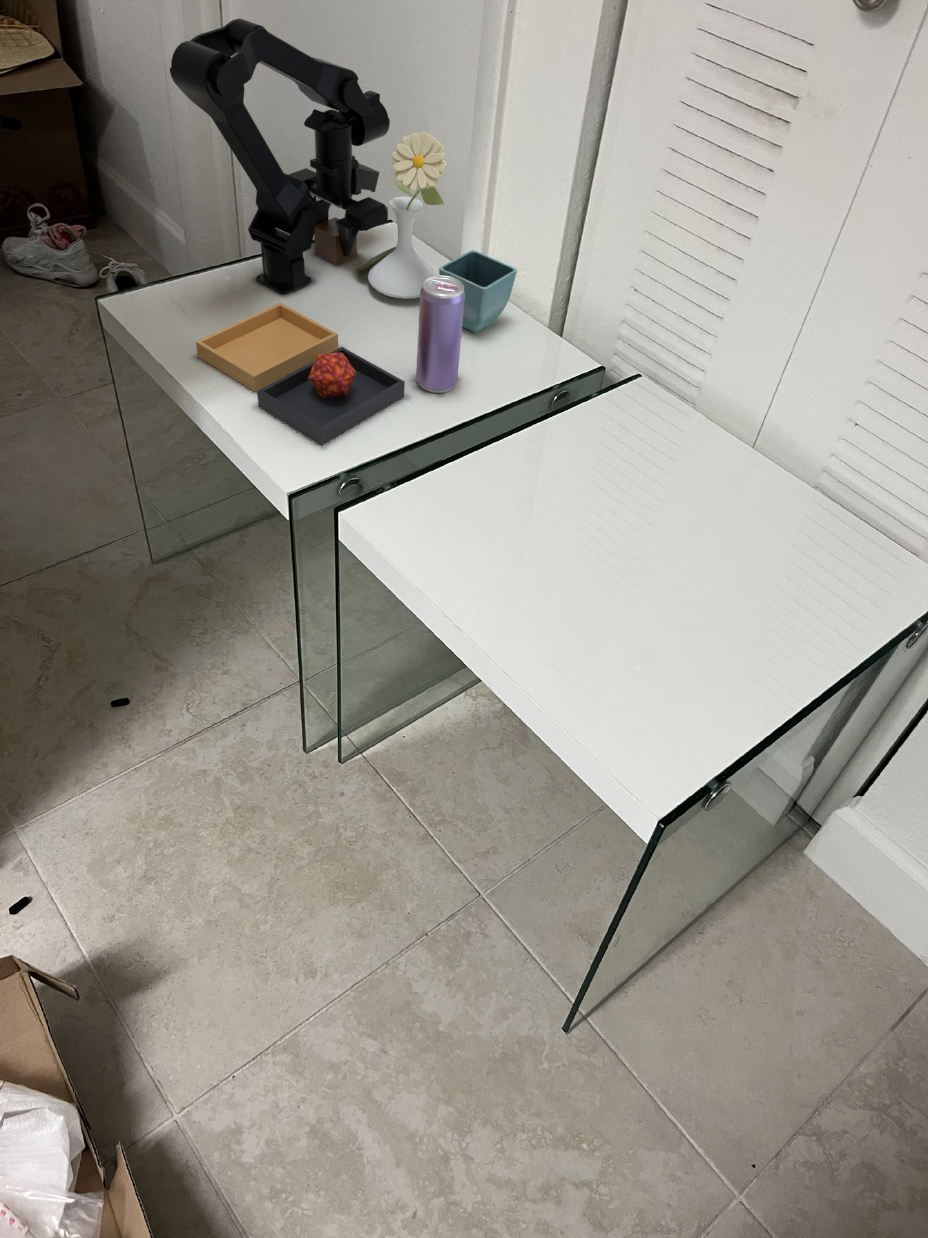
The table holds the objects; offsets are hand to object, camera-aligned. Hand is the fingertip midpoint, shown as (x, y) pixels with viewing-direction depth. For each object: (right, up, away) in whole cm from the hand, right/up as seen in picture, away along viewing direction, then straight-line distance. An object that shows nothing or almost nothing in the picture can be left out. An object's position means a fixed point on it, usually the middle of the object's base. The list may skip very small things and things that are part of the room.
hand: (335, 249), depth 159 cm
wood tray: (-7, -23, -21) cm, 32 cm away
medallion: (+7, -3, -5) cm, 9 cm away
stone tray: (+3, -32, -28) cm, 43 cm away
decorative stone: (+3, -31, -27) cm, 41 cm away
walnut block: (0, -1, +1) cm, 1 cm away
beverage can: (+18, -28, -23) cm, 40 cm away
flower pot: (+23, -16, -10) cm, 30 cm away
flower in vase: (+12, -9, -6) cm, 16 cm away
